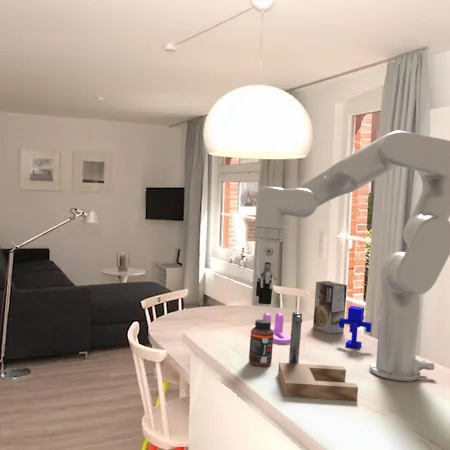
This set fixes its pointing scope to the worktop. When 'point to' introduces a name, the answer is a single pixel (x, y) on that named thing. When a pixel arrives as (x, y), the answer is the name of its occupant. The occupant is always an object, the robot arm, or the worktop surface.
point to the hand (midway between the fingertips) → (263, 299)
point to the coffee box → (329, 306)
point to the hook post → (295, 337)
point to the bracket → (278, 329)
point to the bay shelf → (307, 386)
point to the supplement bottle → (261, 343)
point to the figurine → (355, 325)
